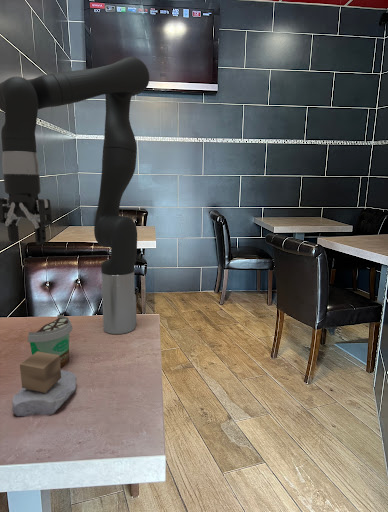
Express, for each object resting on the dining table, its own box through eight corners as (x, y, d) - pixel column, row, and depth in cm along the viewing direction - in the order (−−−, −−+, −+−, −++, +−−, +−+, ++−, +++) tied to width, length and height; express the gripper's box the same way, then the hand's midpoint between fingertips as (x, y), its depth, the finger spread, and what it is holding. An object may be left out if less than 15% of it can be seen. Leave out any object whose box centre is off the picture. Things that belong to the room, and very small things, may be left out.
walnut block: (39, 373, 73) (37, 351, 72) (61, 377, 72) (59, 355, 71) (22, 387, 69) (19, 364, 67) (45, 392, 68) (43, 368, 66)
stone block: (78, 390, 79) (31, 383, 78) (81, 370, 78) (33, 362, 77) (63, 427, 67) (7, 419, 66) (66, 405, 66) (10, 396, 65)
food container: (55, 378, 79) (52, 335, 77) (30, 375, 80) (27, 333, 79) (83, 354, 91) (81, 316, 89) (61, 351, 92) (58, 314, 91)
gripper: (57, 173, 84) (61, 242, 87) (13, 173, 90) (18, 238, 93) (31, 172, 77) (37, 247, 80) (-15, 172, 83) (-8, 242, 86)
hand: (27, 242), depth 87 cm, fingers open, 8 cm apart
